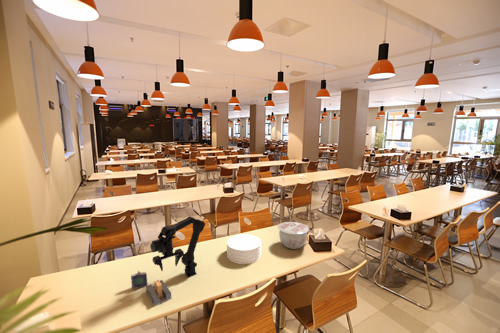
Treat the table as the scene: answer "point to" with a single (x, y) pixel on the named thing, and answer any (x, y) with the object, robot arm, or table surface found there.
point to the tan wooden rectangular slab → (158, 288)
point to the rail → (154, 296)
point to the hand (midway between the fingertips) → (169, 268)
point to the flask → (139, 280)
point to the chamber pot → (293, 234)
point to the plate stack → (243, 249)
